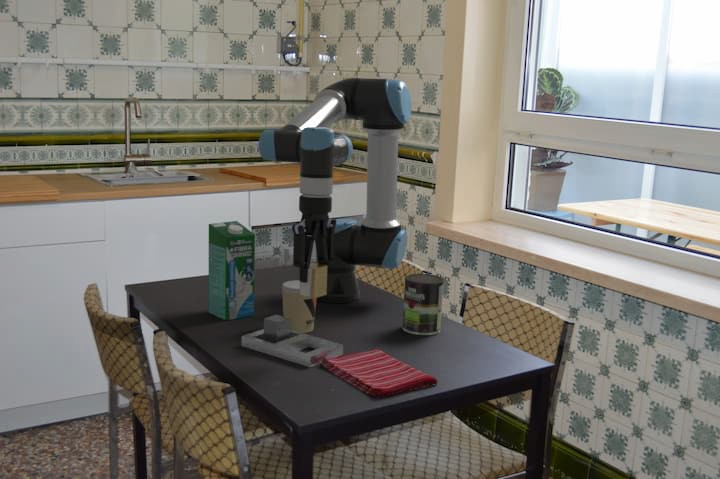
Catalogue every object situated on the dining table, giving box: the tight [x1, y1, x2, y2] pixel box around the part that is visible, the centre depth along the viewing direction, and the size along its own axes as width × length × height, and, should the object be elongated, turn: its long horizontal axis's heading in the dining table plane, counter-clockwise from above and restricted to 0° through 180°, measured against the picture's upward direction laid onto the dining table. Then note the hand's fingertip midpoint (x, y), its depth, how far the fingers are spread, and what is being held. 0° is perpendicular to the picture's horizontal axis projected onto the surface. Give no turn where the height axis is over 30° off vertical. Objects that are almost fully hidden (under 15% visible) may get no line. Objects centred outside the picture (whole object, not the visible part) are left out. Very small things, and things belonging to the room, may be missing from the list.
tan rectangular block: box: [302, 262, 327, 298], centre depth 197 cm, size 4×4×7 cm
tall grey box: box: [263, 314, 290, 343], centre depth 205 cm, size 4×4×7 cm
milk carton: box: [208, 220, 256, 322], centre depth 228 cm, size 9×9×25 cm
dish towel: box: [319, 349, 438, 398], centre depth 189 cm, size 17×24×3 cm
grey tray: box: [241, 328, 344, 368], centre depth 203 cm, size 12×22×2 cm, turn 53°
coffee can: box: [401, 273, 445, 336], centre depth 222 cm, size 10×10×14 cm
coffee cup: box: [281, 279, 317, 334], centre depth 219 cm, size 9×9×12 cm
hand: (312, 293), depth 197 cm, fingers closed on tan rectangular block, 4 cm apart
